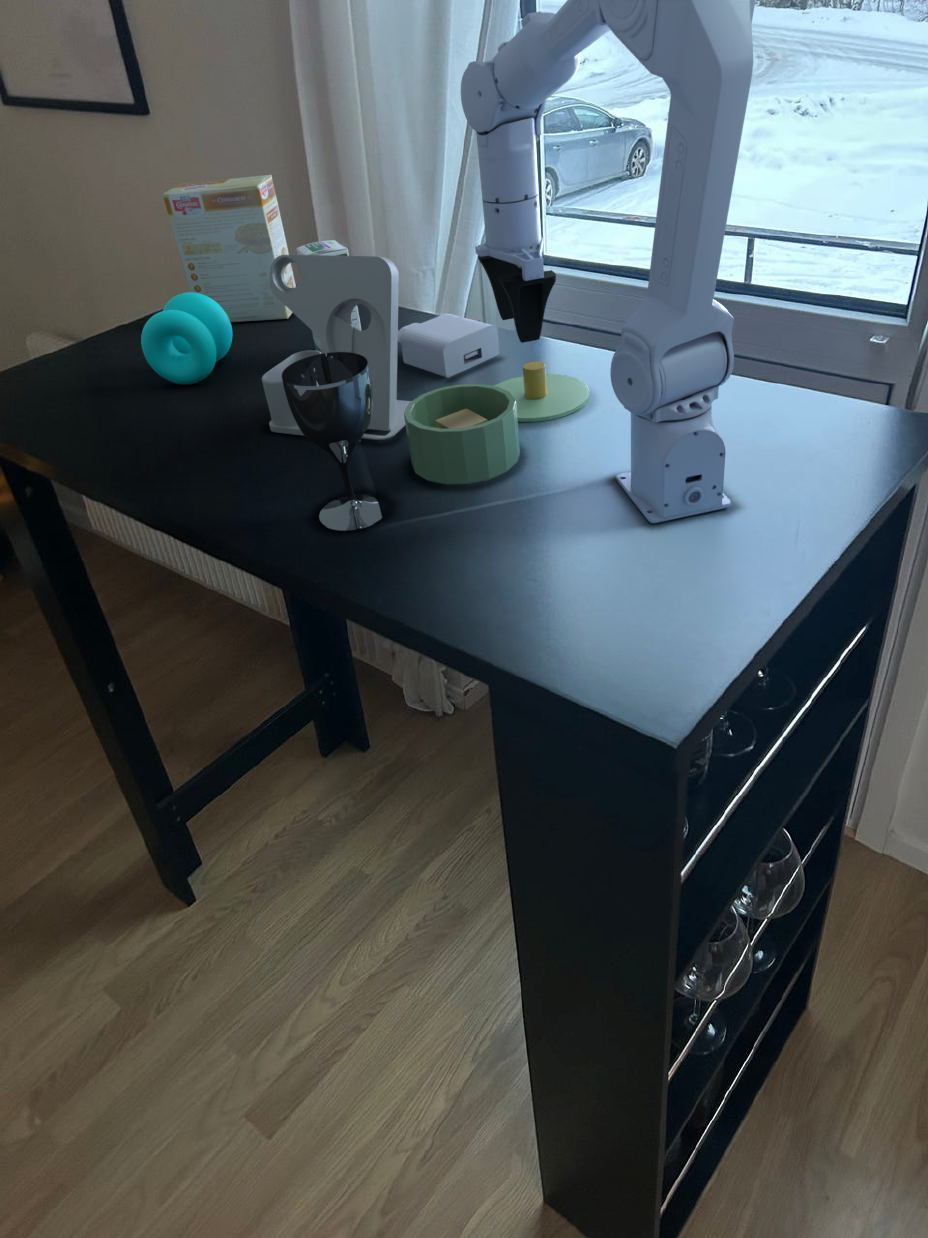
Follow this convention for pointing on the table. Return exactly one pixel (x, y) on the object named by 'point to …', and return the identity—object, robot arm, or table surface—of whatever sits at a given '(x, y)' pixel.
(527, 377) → the lid
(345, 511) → the wine glass
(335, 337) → the phone holder
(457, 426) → the block
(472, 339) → the charger
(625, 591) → the table surface
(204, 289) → the coffeecake box
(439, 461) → the tin
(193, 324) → the turquoise yo-yo
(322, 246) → the syrup box
